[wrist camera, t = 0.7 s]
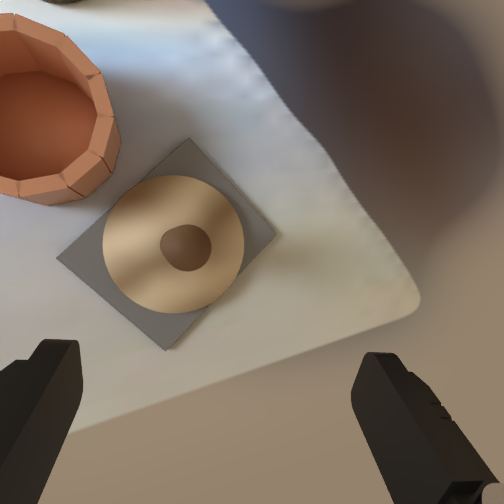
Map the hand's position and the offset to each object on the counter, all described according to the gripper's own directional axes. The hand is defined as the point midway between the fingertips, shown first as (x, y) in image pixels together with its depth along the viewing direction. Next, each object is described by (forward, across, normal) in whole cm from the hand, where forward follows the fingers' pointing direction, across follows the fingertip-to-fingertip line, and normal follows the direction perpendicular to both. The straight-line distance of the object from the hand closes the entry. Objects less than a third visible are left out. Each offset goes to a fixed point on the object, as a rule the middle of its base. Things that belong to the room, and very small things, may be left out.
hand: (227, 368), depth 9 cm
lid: (+20, +3, +6) cm, 21 cm away
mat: (+21, +3, +6) cm, 22 cm away
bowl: (+22, +14, -2) cm, 27 cm away
